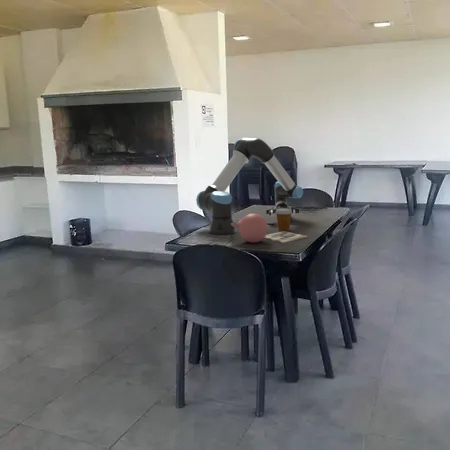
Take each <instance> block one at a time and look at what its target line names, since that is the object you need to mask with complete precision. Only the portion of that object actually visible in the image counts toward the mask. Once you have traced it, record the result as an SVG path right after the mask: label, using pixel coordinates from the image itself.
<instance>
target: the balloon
mask: <svg viewBox="0 0 450 450" xmlns="http://www.w3.org/2000/svg"><path fill="white" fill-rule="evenodd" d="M231 225H232V226H233V227H234V228H235V229H237V230H238V233H239V235H240V237H241V238H242V239H243V240H244V241H246V242H248V243H253V244H254V243H259V242H261V241H262V240H264V239H265V238H264V237H265V236H266V235H268V229H269V226H268V223H267V220H266V219H265V218H264V217H263V216H262V215H260V214H258V213H253V212H252V213H249V214H246V215H244V216H243V217H242V218H241V219H240V220H237V221H233V223H231Z"/></svg>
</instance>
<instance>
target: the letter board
mask: <svg viewBox="0 0 450 450" xmlns="http://www.w3.org/2000/svg"><path fill="white" fill-rule="evenodd" d="M307 238H308V235H303V234H300V233H299V234H298V233H294V232H290V231H278V232H272V233H267V234H266V236H265V237H264V238H263V239H264V240H269V241H273V242H277V243H281V244H284V243H289V242H292V241H293V242H294V241H297V240H301V239H302V240H303V239H307Z"/></svg>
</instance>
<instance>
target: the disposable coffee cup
mask: <svg viewBox="0 0 450 450" xmlns="http://www.w3.org/2000/svg"><path fill="white" fill-rule="evenodd" d="M275 209H276V208H275ZM292 214H293V213H292V211H291V209H288V208H280V209H276V213H275V215H276V221H277V229H278V230H279V231H280V232H283V231H286V232H288V231H290V227H291V218H292V217H291V216H292Z"/></svg>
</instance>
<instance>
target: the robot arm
mask: <svg viewBox="0 0 450 450" xmlns="http://www.w3.org/2000/svg"><path fill="white" fill-rule="evenodd" d="M252 158H255V159H257V160H259V161H260V163H262V164H264V165H265V166H266V169H268V170H269V172H270V173H271V174H272V176H274V178H275V179H276V180H277V181H276V182H275V184H274V185H275V187H274V193H275V198H274V199H275V204H274V206H275V207H274V206H273V207H270V208H268V209H266V210H265V212H266V213H265V214H266V215H269V216H271V217H273V216H274V215H273V214H276V209H280V208H288V209H291V211H292V213H291V214H293V217H295V216H296V215H297V214H300V209H299V208H297V207H293V206H291V207H288V198H291V199H301V198H302V197H303V195H304V189H303V187H301V186H298V185H297V184H296V183H295V181H294V180H293V179H292V178H291V176H290V175H289V174H288V173H287V171H286V169H285V168H284V167H283V166H282V164H281V163H280V162H279V161H278V159H277V157H276V156H275V152H274V151H273V149H272V148H271V147H270V146H269V145H268V144H267V143H266V142H265V141H264V140H263V139H261V138H258V137H242V138H239V139H237V140H236V141H235V143H234V145H233V151H232V156H231V158H230V159H229V160H228V162H227V163H226V165H225V166H224V168H223V169H222V171H220V173H219V174H218V176H217V177H216V179H215V180H214V182H213V183H212V184H211V185H207V187H206V188H205V190H202V191H200V192H198V194H197V196H196V199H195V201H196V205H197V207H198V208H199V209H200V210H201V211H203V212H209V213H211V222H210V225H209V230H208V231H209V233H210V234H212V235H217V236H218V235H219V236H221V235H222V236H223V235H224V236H225V235H231V234H235V233H236V228H234V227H233V226H232V225H231V223H234V221H233V211H232V208H233V207H232V206H233V204H232V203H233V200H232V194H231V193H230V192H228V191H226V190H227V189H228V188H229V186H230V185H231V183H232V182H233V180H234V179H235V177H236V176H237V175H238V174H239V172H240V171H241V170H242V168H243V166H244V165H245V164H248V163H249V162H250V160H252Z"/></svg>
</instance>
